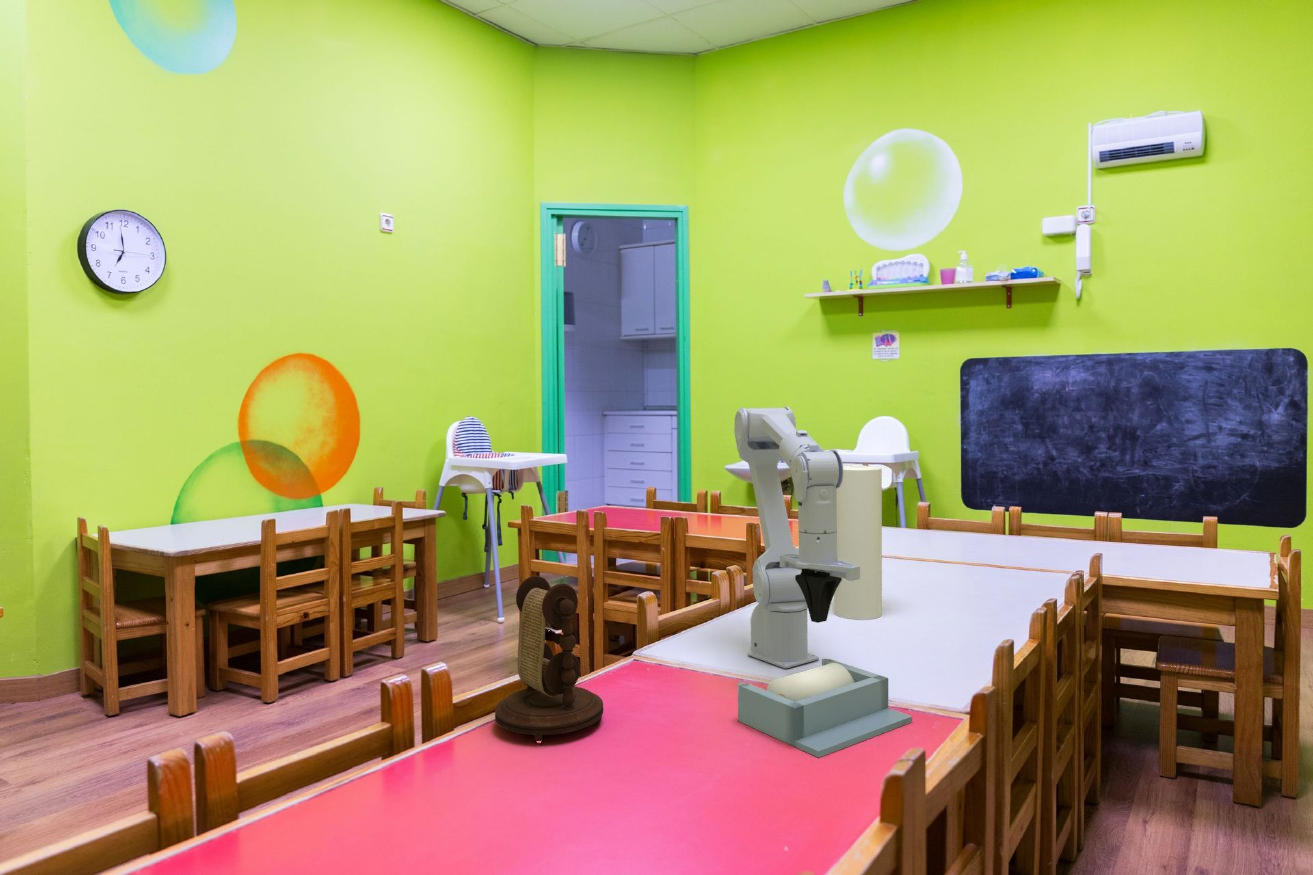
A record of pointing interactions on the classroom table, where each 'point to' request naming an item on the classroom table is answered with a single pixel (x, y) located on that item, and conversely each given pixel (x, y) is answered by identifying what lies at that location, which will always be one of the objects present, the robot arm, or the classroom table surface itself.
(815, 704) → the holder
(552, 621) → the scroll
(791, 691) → the cylinder
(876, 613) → the cylinder container
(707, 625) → the classroom table surface
